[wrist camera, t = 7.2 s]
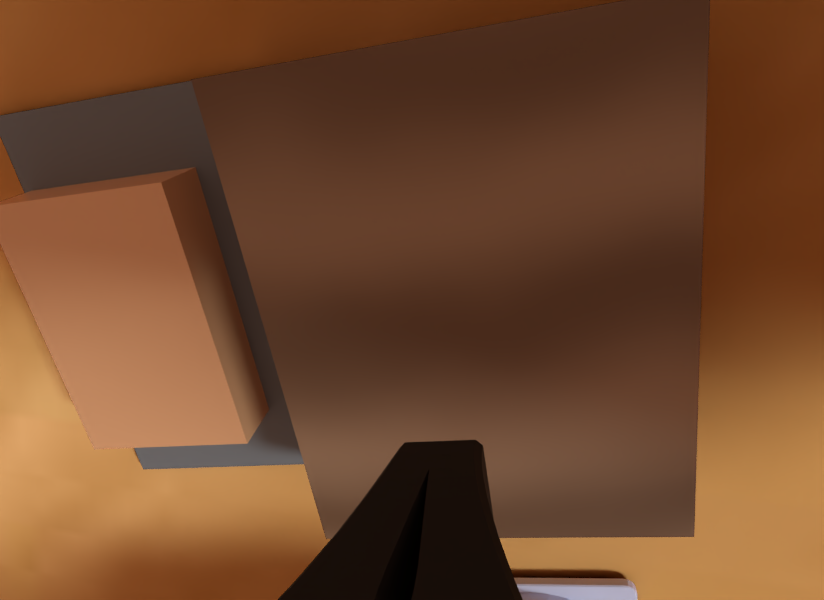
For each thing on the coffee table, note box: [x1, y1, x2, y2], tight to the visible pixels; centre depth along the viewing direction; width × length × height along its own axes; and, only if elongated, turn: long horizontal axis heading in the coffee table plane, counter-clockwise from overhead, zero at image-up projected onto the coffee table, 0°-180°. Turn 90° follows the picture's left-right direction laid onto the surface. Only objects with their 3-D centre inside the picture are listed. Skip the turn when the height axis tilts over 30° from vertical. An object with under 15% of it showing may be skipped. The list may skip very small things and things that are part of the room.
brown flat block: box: [191, 0, 710, 539], centre depth 17 cm, size 14×11×4 cm
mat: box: [0, 81, 304, 469], centre depth 21 cm, size 14×9×1 cm, turn 10°
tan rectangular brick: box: [0, 167, 269, 449], centre depth 20 cm, size 9×6×2 cm, turn 9°
